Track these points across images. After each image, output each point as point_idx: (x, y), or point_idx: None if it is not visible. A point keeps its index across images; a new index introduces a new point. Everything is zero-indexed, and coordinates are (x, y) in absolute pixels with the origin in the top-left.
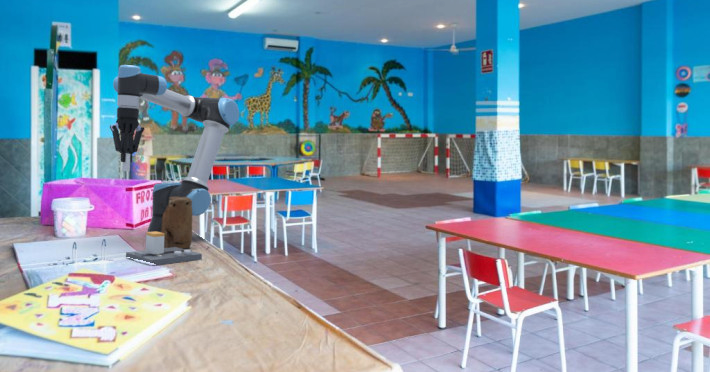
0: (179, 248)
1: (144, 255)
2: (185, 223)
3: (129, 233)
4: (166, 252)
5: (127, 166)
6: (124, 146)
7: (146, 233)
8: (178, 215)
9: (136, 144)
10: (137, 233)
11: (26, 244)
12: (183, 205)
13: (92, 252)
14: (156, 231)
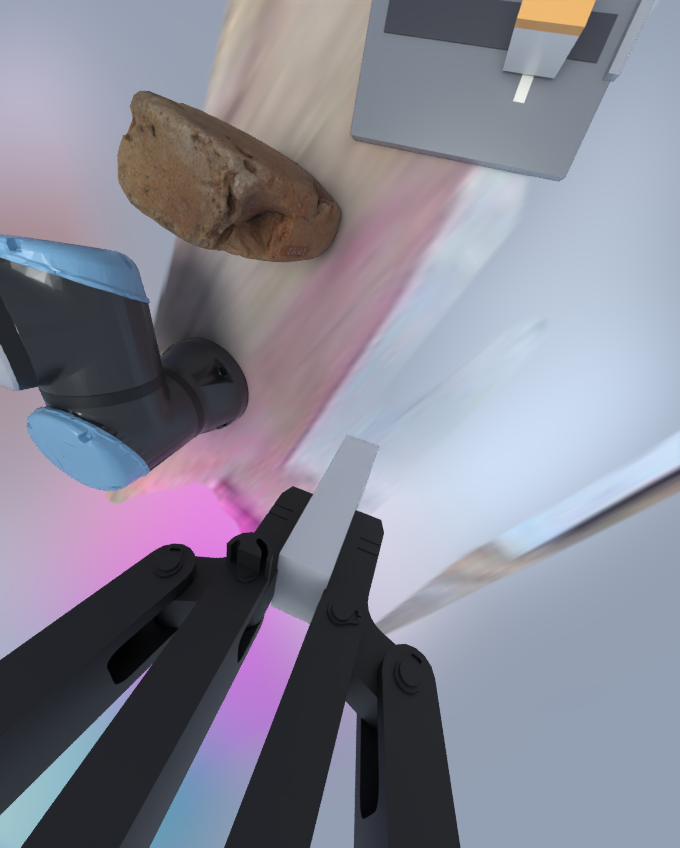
0: (363, 88)
1: (613, 20)
2: (248, 137)
3: (257, 458)
4: (483, 19)
5: (357, 464)
6: (322, 717)
7: (584, 26)
8: (256, 147)
9: (73, 661)
10: (243, 446)
11: (515, 532)
12: (202, 119)
13: (523, 349)
14: (522, 11)
